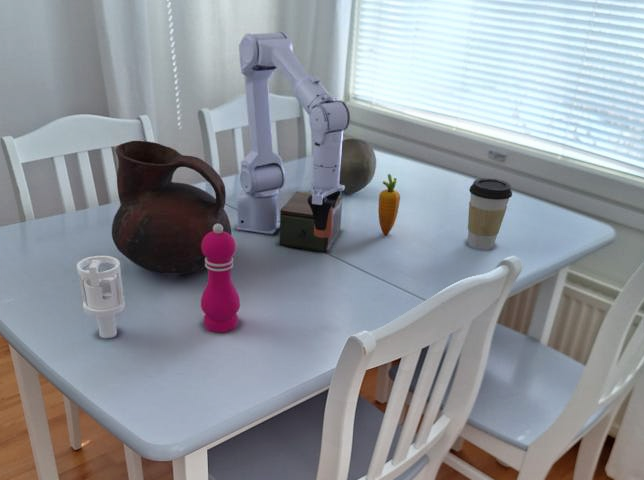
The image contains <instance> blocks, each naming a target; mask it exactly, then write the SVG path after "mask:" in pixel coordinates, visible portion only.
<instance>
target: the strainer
mask: <svg viewBox="0 0 644 480" xmlns="http://www.w3.org/2000/svg"><path fill="white" fill-rule="evenodd" d="M101 263H102V264H103V263H104V264H105V263H106V264H111V265H113V266H114V267H112V268H111V269H107V270H101V271H99V267H100V265H101ZM87 266H88V269H87V270H86V269H85V270H84V268H85V267H87ZM76 270H77V274H78V279H79V280H78V281H79V286H80V287H79V288H80V293H81V298H82V307H83V311H84V313H85V314H86V315H88V316H90V317H91V316H92V317H96V320H97V326H98V334H99V337H100V338H102V339H111V338H114V337H116V336H117V335H118V331H117V323H116V316H115V315H117V314H120V313H121V312H122V311H123V310H125V307H126V304H125V303H126V301H125V297H124V289H123V281H122V280H123V279H122V271H121V263H120V260H119V259H118V258H117V257H114V256H111V255H94V256H88V257H85V258H83V259H81V260H80V261H78V262H77V264H76Z"/></svg>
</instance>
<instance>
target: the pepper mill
mask: <svg viewBox="0 0 644 480" xmlns="http://www.w3.org/2000/svg"><path fill="white" fill-rule="evenodd" d="M201 248H202V252H203V254H204V255H205V256H206V258H205V262H206V263H205V268H206V269H207V272H208V280H207V283H206V286H205V288H204V290H203V292H202V295H201V297H200V298H201V299H200V308H201V311H202V312H203V313H204V316H203V321H204V322H203V324H204V327H205V329H207V330H208V331H210V332H213V333H227V332H232V331H233V330H235V329H236V328H237V327H238V323H239V320H238V319H239V316H238V312H239V310H240V308H241V300H240V296H239V293H238V291H237V289H236V287H235V286H234V283H233V281H232V276H231V270H232V268H233V267H234V258H233V256H234V254H235V253H236V249H237V245H236V241H235V238H234V237H233V236H232V234H231V235H230V234H229V233H227V232H224V231H223V226H222V225H221V224H215V225H214V226H213V231H212V232H210V233H208V234H207V235H206V236H205V237H204V238H203V240H202V245H201Z"/></svg>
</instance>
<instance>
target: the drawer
mask: <svg viewBox="0 0 644 480" xmlns="http://www.w3.org/2000/svg"><path fill="white" fill-rule="evenodd" d="M281 244H286V245H293V246H299V247H306V248H313V249H319V250H324V248H325V238H320V237H317V236H315V235H314V218H309V217H302V216H295V215H288V214H287V215H282V216H281Z"/></svg>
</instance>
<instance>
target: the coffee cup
mask: <svg viewBox="0 0 644 480" xmlns="http://www.w3.org/2000/svg"><path fill="white" fill-rule="evenodd" d="M468 191H469V193H470V200H469V202H468V218H467V219H468V220H467V230H468V231H467V245H468V246H469V247H470V248H473V249H475V250H481V251H483V250H484V251H486V250H491V249H493V248H494V245H495V243H496V240H497V236H498V234H499V233H500V230H501V227H502V223H503V221H504V217H505V214H506V211H507V209H508V203H509V200H510V198H511V197H512V196H513V191H512V185H511V184H510V183H508V182H507V181H504V180H501V179H496V178H489V177H488V178H483V177H482V178H477V179H475V180H474V181H473V183H472V184H471V185H470V187H469V189H468Z"/></svg>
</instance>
